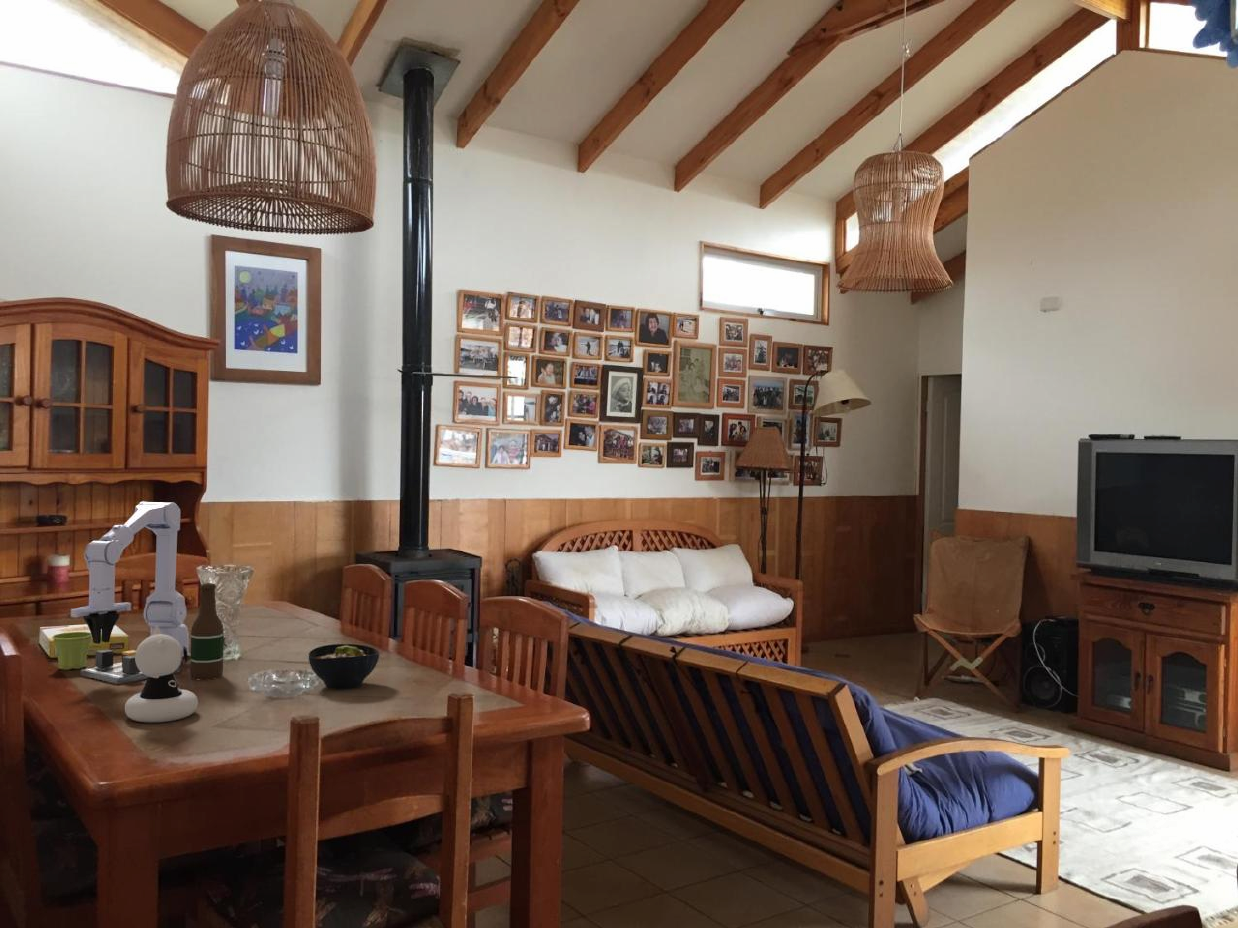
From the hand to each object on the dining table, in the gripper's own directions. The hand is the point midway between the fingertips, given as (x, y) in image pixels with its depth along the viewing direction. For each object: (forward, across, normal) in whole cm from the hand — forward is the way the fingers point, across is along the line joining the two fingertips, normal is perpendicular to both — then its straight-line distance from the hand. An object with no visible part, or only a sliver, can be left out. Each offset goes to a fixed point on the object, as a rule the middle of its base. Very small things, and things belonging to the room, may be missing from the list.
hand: (101, 642), depth 250 cm
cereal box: (+10, +20, +43) cm, 48 cm away
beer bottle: (+10, +18, -18) cm, 27 cm away
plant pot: (+10, +4, +19) cm, 22 cm away
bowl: (+10, +32, -53) cm, 62 cm away
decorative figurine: (+10, -12, -43) cm, 46 cm away
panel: (+9, +8, 0) cm, 12 cm away
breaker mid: (+8, +8, 0) cm, 11 cm away
